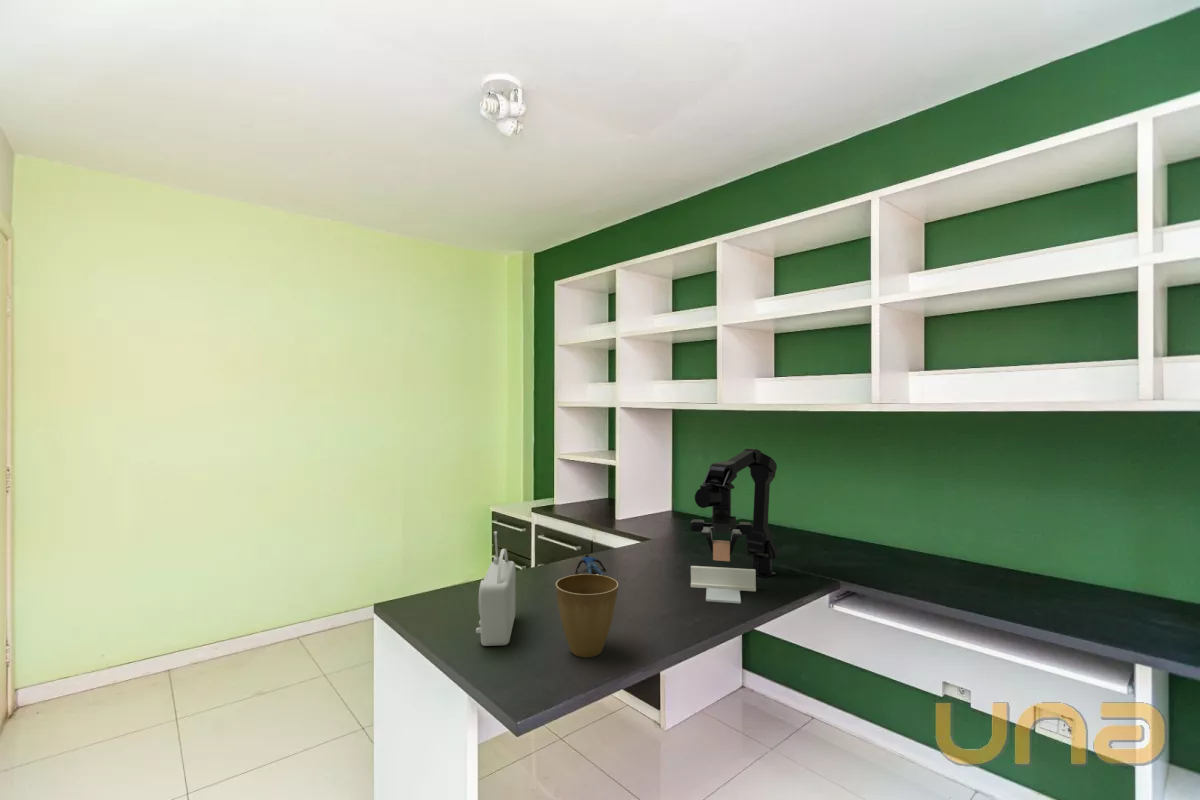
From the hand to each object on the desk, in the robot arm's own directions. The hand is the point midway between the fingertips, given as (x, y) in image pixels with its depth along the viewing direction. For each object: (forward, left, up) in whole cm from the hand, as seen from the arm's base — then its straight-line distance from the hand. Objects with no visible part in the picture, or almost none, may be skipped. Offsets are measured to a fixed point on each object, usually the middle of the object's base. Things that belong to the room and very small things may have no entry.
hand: (721, 554), depth 168 cm
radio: (+70, -11, -12) cm, 71 cm away
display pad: (+3, +3, -12) cm, 12 cm away
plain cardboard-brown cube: (0, 0, -1) cm, 1 cm away
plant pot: (+56, +11, -12) cm, 58 cm away
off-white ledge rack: (-3, -3, -12) cm, 12 cm away
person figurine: (+25, -37, -12) cm, 46 cm away
